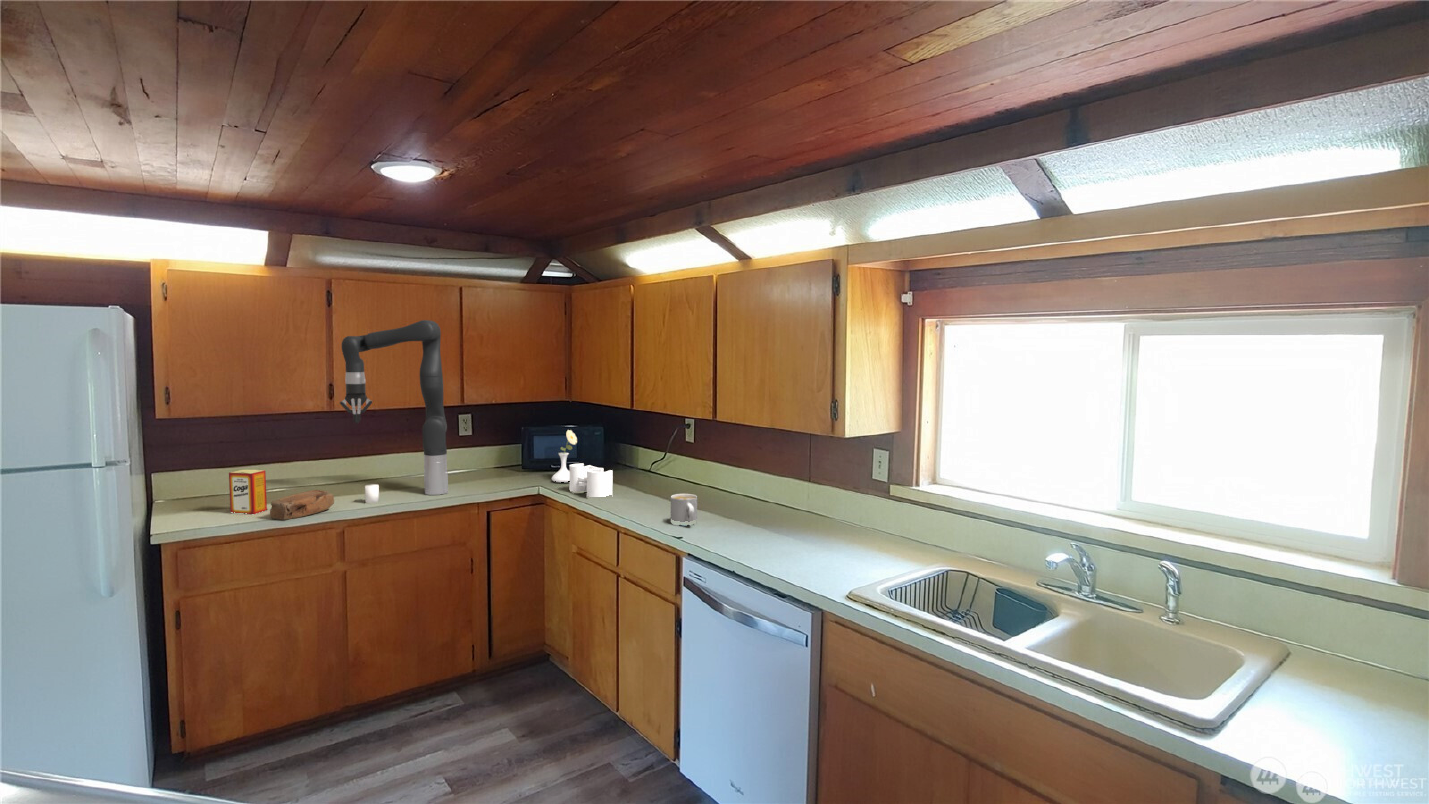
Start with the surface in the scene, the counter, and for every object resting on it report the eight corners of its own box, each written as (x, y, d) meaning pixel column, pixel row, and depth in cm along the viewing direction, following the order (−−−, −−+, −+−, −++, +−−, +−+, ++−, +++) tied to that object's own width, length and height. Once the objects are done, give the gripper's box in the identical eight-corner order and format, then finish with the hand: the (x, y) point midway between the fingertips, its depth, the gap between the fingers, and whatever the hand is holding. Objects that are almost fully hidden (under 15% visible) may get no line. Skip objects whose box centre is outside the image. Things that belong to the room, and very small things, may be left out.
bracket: (564, 491, 301) (564, 465, 300) (582, 488, 307) (583, 462, 306) (595, 501, 283) (595, 473, 282) (614, 498, 289) (614, 470, 288)
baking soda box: (230, 513, 252) (228, 471, 251) (244, 509, 259) (242, 468, 258) (253, 514, 251) (251, 472, 250) (266, 510, 258) (265, 469, 256)
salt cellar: (378, 500, 277) (378, 483, 277) (379, 503, 273) (378, 486, 272) (365, 501, 275) (364, 484, 274) (365, 504, 270) (365, 487, 270)
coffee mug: (668, 519, 255) (669, 494, 254) (694, 518, 257) (694, 493, 256) (674, 529, 242) (674, 502, 241) (701, 528, 244) (701, 501, 243)
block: (314, 506, 265) (267, 519, 246) (314, 487, 264) (266, 499, 245) (336, 509, 261) (290, 523, 242) (335, 490, 260) (289, 503, 241)
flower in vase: (561, 485, 313) (561, 432, 311) (546, 481, 321) (546, 430, 319) (583, 481, 324) (583, 430, 322) (568, 478, 331) (568, 428, 329)
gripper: (337, 383, 281) (339, 424, 282) (372, 382, 287) (374, 422, 288) (338, 382, 287) (339, 422, 289) (372, 381, 293) (374, 421, 295)
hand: (357, 422), depth 288 cm, fingers closed
